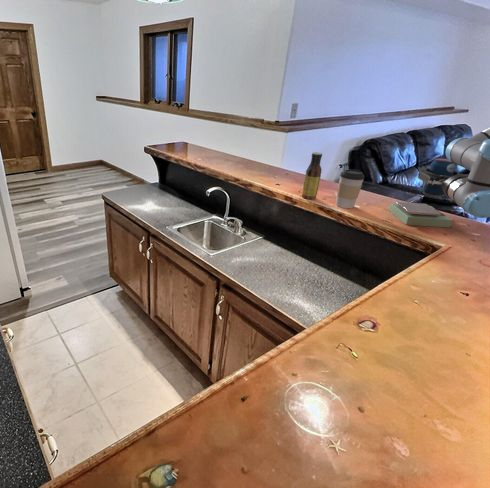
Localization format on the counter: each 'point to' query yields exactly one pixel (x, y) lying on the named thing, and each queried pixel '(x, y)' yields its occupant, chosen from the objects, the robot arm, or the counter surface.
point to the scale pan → (418, 208)
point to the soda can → (441, 168)
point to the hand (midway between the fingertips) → (434, 170)
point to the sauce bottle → (312, 177)
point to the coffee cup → (349, 188)
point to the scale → (420, 218)
